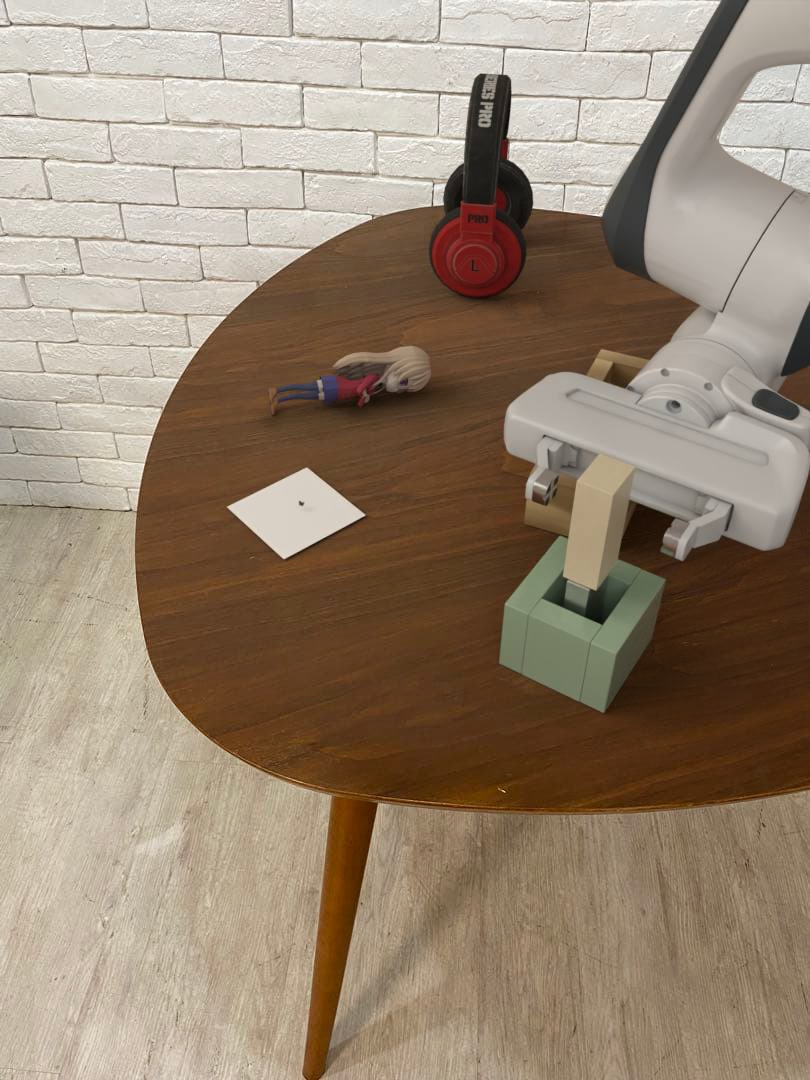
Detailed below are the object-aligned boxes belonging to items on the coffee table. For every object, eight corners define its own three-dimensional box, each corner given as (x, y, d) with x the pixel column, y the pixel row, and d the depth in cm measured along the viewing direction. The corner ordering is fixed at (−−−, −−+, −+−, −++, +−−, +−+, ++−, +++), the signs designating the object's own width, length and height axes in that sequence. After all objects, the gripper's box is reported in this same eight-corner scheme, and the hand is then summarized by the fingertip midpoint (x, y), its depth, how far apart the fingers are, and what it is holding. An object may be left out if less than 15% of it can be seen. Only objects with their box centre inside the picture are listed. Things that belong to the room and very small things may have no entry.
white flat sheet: (226, 507, 85) (225, 499, 84) (306, 467, 89) (306, 460, 88) (283, 559, 80) (283, 552, 80) (365, 515, 84) (365, 507, 83)
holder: (652, 638, 74) (666, 578, 70) (603, 714, 70) (616, 654, 66) (551, 594, 78) (559, 534, 74) (498, 663, 73) (504, 603, 69)
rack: (594, 395, 97) (601, 348, 93) (675, 415, 94) (685, 368, 91) (523, 524, 84) (528, 475, 80) (616, 550, 81) (626, 501, 78)
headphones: (520, 313, 107) (538, 116, 94) (424, 305, 109) (428, 109, 95) (530, 235, 120) (547, 51, 107) (444, 228, 121) (450, 46, 108)
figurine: (270, 402, 90) (439, 371, 92) (261, 358, 91) (428, 328, 93) (274, 431, 96) (434, 400, 98) (265, 389, 97) (423, 360, 99)
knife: (602, 642, 74) (637, 464, 63) (580, 674, 72) (612, 496, 61) (572, 628, 75) (601, 451, 64) (549, 660, 73) (574, 482, 62)
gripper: (558, 332, 76) (461, 426, 68) (841, 423, 68) (770, 543, 60) (550, 403, 81) (458, 501, 72) (815, 497, 72) (746, 619, 64)
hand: (601, 521), depth 66 cm, fingers open, 8 cm apart
